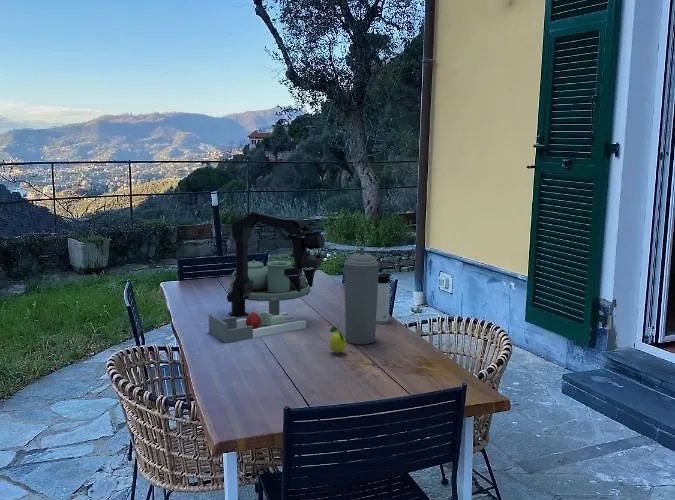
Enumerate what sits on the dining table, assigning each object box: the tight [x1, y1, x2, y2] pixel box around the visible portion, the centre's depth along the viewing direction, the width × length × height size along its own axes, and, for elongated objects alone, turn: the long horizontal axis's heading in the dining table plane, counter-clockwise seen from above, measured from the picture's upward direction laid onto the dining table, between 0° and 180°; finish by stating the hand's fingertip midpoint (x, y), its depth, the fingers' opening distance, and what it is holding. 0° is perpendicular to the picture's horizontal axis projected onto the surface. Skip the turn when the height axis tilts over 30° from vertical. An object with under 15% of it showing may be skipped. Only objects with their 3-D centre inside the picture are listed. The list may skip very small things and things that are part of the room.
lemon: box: [329, 325, 347, 355], centre depth 206 cm, size 7×6×10 cm
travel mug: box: [376, 273, 392, 325], centre depth 244 cm, size 6×7×20 cm
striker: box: [258, 297, 294, 327], centre depth 236 cm, size 10×12×11 cm
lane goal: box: [208, 311, 307, 344], centre depth 231 cm, size 15×34×7 cm, turn 124°
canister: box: [343, 246, 380, 345], centre depth 218 cm, size 13×13×35 cm
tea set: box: [228, 259, 311, 301], centre depth 294 cm, size 40×40×16 cm
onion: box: [245, 310, 262, 329], centre depth 230 cm, size 6×6×8 cm
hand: (305, 289), depth 238 cm, fingers open, 9 cm apart
